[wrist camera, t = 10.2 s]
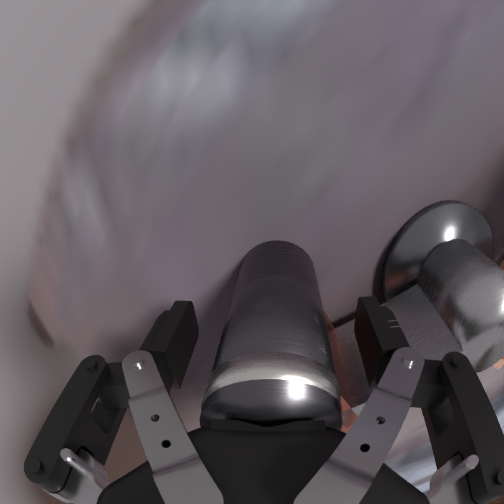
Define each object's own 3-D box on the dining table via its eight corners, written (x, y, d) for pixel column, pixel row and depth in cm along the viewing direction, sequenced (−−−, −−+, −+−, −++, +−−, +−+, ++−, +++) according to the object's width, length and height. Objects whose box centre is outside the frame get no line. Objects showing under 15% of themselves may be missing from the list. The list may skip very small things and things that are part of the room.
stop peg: (330, 263, 16) (374, 414, 6) (288, 317, 17) (289, 464, 8) (262, 225, 15) (237, 370, 6) (226, 286, 17) (180, 432, 8)
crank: (469, 217, 12) (534, 262, 7) (481, 289, 14) (526, 342, 8) (293, 318, 16) (296, 401, 10) (333, 372, 18) (343, 444, 12)
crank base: (502, 246, 14) (509, 251, 13) (433, 336, 17) (437, 344, 16) (437, 170, 12) (445, 173, 12) (354, 290, 16) (357, 299, 15)
